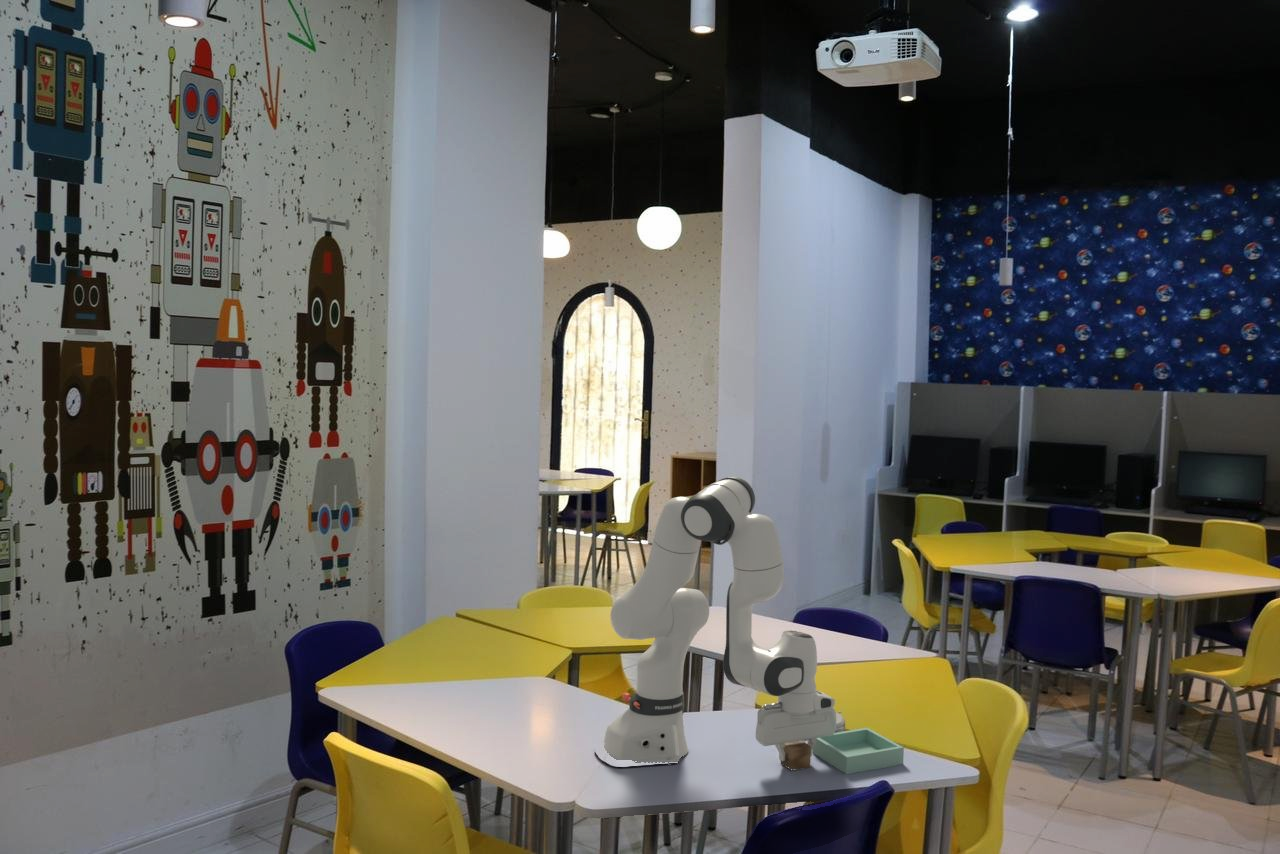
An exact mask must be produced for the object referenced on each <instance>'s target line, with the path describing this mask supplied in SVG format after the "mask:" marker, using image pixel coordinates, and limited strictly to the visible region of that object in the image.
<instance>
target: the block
mask: <svg viewBox="0 0 1280 854" xmlns="http://www.w3.org/2000/svg"><path fill="white" fill-rule="evenodd" d="M783 750H784V751H785V752H786V753H788V760H787V761H781V760H780V759H779V761H780V762H781V763H780V764H781V765H783V764H784V765H785V767H786V766H787V767H789V768H790V769H792V770H791V771H794V770H793V769H798V770H802V769H801V768H804V769H809V768H808V767H810V768H811V757H812V756H811V746H809V745H808V744H807V743H806V742H805V741H804V740H801V741H795V742H789V743H785V747H783ZM784 765H783V766H784ZM787 767H786V768H787ZM806 767H807V768H806ZM789 768H788V769H789ZM790 769H789V770H790Z"/></svg>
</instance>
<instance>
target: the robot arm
mask: <svg viewBox="0 0 1280 854" xmlns="http://www.w3.org/2000/svg"><path fill="white" fill-rule="evenodd" d="M755 495H756V494H755V491H754V490H753V488H752V486H751V484H749V482H748V481H746V480H745V479H743V478H741V477H736V476H731V477H724V478H721V479H720V480H719V479H718V481H715V482H713V483H711V484H709V485H706V486H704V488H703V489H701V490H700V491H698V493H696V494H694V495H692V496H691V497H687V496H676V497H672V498H670V499H668V501H667V502H666V503H665V504H664V506H663V508H662V510H661V512H660V515H659V518H658V521H657V522H656V523H657V524H656V527H655V531H654V535H653V539H652V543H651V547H650V551H649V555H648V560H647V563H646V565H645V568H644V569H643V571H642V573H641V575H640V576H639V578H638V579H637V581H636V582H635V583H634V584H633V586H632V587H631V588H630V589H629V590H628V591H627V592H626V593H624V594H623V595H622V596H620V597H619V598H617V599H616V600H615V601H614V603H613V604H612V607H611V611H610V624H611V626H612V629H613V630H614V632H615V634H616V635H617V636H619V638H621V639H625V640H634V641H635V640H636V641H642V640H649V639H654V640H653V642H652V644H651V645H650V646H649V648H648V649H647V650H646V651H644V652H643V653H642V654H641V655H640V656H639V657H638V660H637V664H636V690H635V691H634V694H632V695H631V694H630V693H629V692H623V694H622V696H621V698H622V701H624V702H625V703H627V704H629V707H628V708H627V709H626V710H625V711H624V712H622V714H620V715H619V716H618V717H617V718H615V719H614V720H613V721H612V722H610V723H609V724H608V725H607V727H606V730H605V733H604V734H605V735H604V741H603V743H604V748H605V750H606V751H607V753H609V755H610V756H611V757H613V758H614V759H616V760H632V761H634V762H635V761H637V762H635V763H641V762H644V763H646V762H648V763H650V762H651V763H653V762H655V763H657V762H659V763H660V762H662V763H665V762H668V763H669V762H678V761H679V759H680V757H682V756H683V757H685V756H686V755H687V754H688V753H689V747H688V745H687V740H686V739H687V738H686V736H685V726H684V713H685V692H684V691H683V681H684V665H685V661H686V657H687V656H686V655H687V653H688V650H689V648H690V646H691V644H692V641H693V640H694V638H695V636H696V635H697V634H698V632H699V631H700V630H701V629H702V628H703V627H705V625H706V624H707V622H708V620H709V617H710V605H709V601H708V598H707V597H706V596H705V594H704V593H703V592H702V591H701V590H700V589H694V588H687V587H684V586H685V585H687V584H688V583H689V582H690V581H691V580H692V577H693V576H694V573H695V570H696V565H697V561H698V557H699V553H700V548H701V544H702V542H710V543H713V544H716V545H719V546H722V545H724V544H726V543H727V544H728V545H729V546H730V550H731V555H732V563H733V565H732V567H733V580H732V581H731V583H730V584H729V586H728V588H727V594H726V605H725V606H726V608H725V609H726V610H725V611H726V612H725V615H726V617H725V619H726V621H725V622H726V623H725V624H726V625H725V626H726V628H725V629H726V631H725V632H726V633H725V638H726V639H725V648H724V653H723V658H722V668H723V672H724V675H725V677H726V678H727V680H728V681H729V682H730V683H732V684H734V685H737V686H741V687H746V688H749V689H751V690H755V691H758V692H761V693H763V694H766V695H768V696H773V697H777V702H773V703H766V704H763V705H762V706H761V707H760V708H759V709H758V710H757V717H756V718H757V719H756V725H755V726H756V727H755V739H756V741H757V742H758V744H760V745H761V746H763V747H769V746H774V747H775V748H776V750H777V751H778V759H779V761H780V760H781V761H787V760H788V753H786V752H785V751H784V750H783V747H785V743H789V742H795V741H806V740H807V743H806V744H808V745H809V746H811V757H812V756H813V753H812V751H813V748H814V746H815V744H816V742H817V738H820V737H826V736H832V735H834V733H835V731H836V713H837V711H836V709H835V708H834V707H835V705H836V701H835V698H833V696H832V697H831V696H830V695H828V694H827V693H825V692H822V691H820V690H817V684H816V675H817V673H818V670H817V669H818V654H817V653H818V651H817V643H816V641H815V638H814V636H812V635H810V634H809V633H805V632H801V631H797V630H786V631H783V632H782V633H781V635H780V636H781V637H780V639H779V641H778V642H777V643H776V644H775V645H774V646H773V647H771V648H769V649H767V648H765V647H761V646H759V645H757V644H756V642H754V640H753V638H752V634H753V633H752V631H753V629H752V627H753V625H752V620H753V618H752V617H753V616H752V615H753V614H752V613H753V608H754V605H757V604H761V603H764V602H766V601H769V600H771V599H772V598H774V597H775V596H777V594H778V593H780V592H781V589H782V588H783V586H784V582H785V580H784V579H785V569H784V561H783V560H784V559H783V552H782V548H781V543H780V539H779V534H778V531H777V528H776V525H775V522H774V521H773V519H771V518H770V517H769V516H767V515H764V514H760V513H752V511H753V509H754V507H755V505H756V504H755V503H756V496H755ZM684 755H685V756H684ZM683 757H682V758H683ZM680 760H681V759H680ZM679 762H680V761H679Z"/></svg>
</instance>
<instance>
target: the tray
mask: <svg viewBox="0 0 1280 854" xmlns="http://www.w3.org/2000/svg"><path fill="white" fill-rule="evenodd" d="M904 748H905V747H903V746H902V745H900V744H898V743H896V742H894V741H892V740H891V739H889V738H887V737H885V736H883V735H881V734H880V733H878V732H876V731H874V730H873V729H871V728H869V727H864V728H857V729H851V730H844V731H843V732H837V733H834V735H832V736H826V737H820V738H817V742H816V744H815V746H814V748H813V750H812V754H813V755H815V756H817V757H819V758H820V759H822V760H823V759H824V761H825V762H826V763H828V764H830V765H831V766H833V767H834V768H836V769H837V770H839V771H840V772H842V773H844V774H846V775H850V774H855V773H861V772H867V771H873V770H879V769H884V768H889V767H896V766H902V765H904V751H905V749H904Z"/></svg>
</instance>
